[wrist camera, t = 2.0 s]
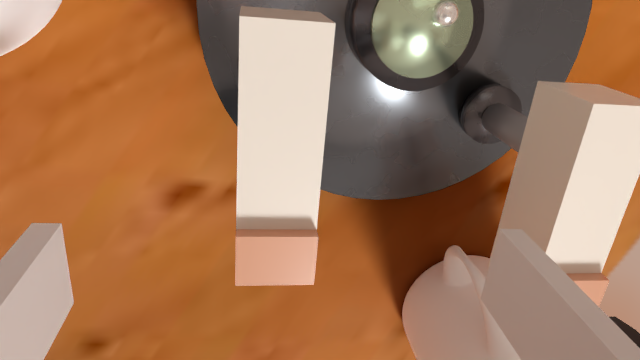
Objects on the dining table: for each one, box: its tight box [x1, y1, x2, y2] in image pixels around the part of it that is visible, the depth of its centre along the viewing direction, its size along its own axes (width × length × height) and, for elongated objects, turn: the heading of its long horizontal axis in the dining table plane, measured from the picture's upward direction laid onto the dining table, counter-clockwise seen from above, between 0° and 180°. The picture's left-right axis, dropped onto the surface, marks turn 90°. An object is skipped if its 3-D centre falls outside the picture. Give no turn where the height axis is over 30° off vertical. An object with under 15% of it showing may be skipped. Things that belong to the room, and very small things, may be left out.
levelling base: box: [197, 0, 592, 200], centre depth 23 cm, size 20×20×5 cm
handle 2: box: [482, 81, 640, 307], centre depth 22 cm, size 9×3×9 cm, turn 175°
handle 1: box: [235, 6, 336, 286], centre depth 19 cm, size 9×3×9 cm, turn 175°
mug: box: [402, 245, 521, 360], centre depth 29 cm, size 9×12×11 cm
